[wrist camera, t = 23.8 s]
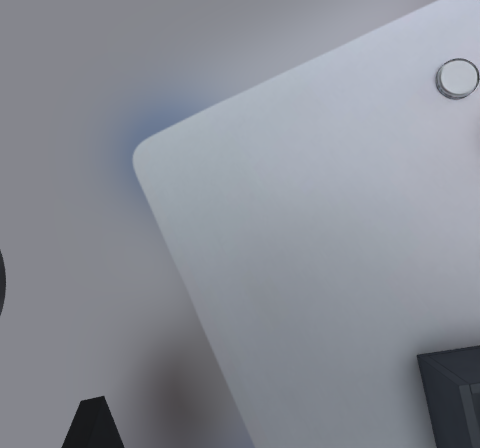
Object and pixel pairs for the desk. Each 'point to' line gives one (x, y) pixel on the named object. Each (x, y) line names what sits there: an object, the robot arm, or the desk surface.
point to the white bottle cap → (457, 78)
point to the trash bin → (453, 395)
